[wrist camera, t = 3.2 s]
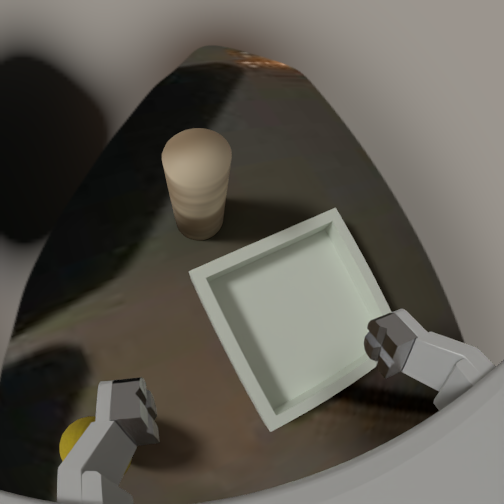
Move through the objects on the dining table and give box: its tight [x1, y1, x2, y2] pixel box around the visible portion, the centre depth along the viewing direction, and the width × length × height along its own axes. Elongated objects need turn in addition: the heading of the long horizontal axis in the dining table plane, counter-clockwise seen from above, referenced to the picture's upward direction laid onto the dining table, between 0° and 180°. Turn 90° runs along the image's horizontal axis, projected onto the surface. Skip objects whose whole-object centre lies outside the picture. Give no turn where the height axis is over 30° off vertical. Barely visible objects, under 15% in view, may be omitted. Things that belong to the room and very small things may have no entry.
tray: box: [189, 208, 391, 432], centre depth 24 cm, size 14×14×3 cm
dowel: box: [162, 128, 232, 240], centre depth 22 cm, size 4×4×10 cm
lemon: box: [60, 416, 132, 474], centre depth 16 cm, size 6×6×8 cm
